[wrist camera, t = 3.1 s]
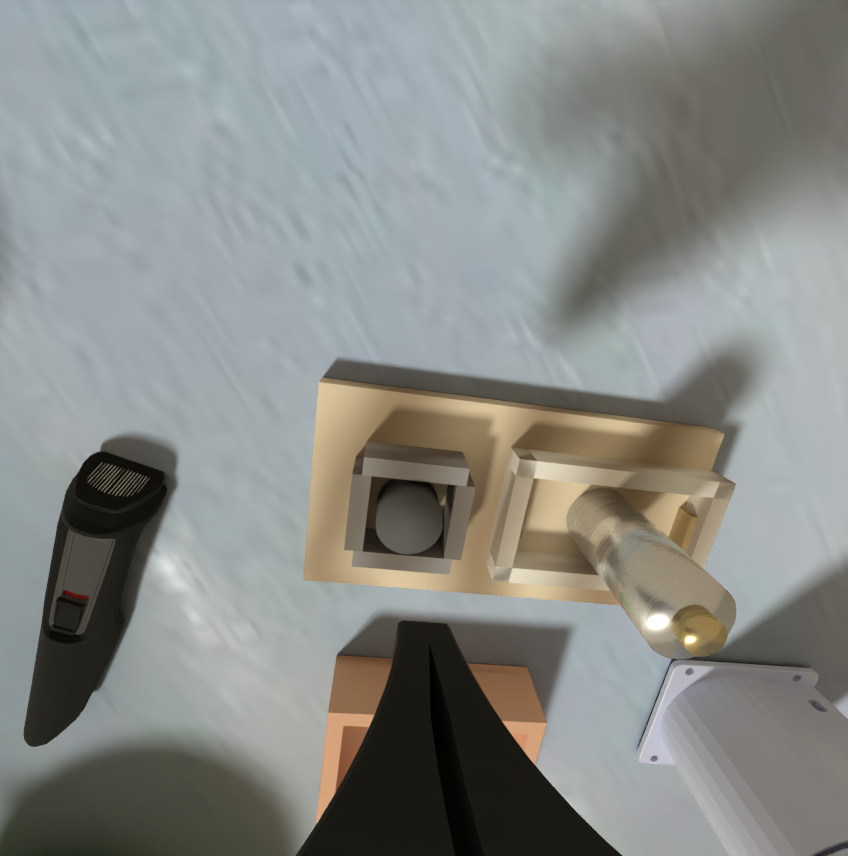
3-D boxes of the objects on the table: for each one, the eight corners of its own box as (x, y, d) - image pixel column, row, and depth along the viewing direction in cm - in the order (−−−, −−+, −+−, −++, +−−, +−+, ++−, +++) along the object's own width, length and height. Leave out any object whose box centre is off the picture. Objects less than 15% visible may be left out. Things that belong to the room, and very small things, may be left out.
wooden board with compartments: (712, 427, 22) (759, 448, 19) (652, 596, 25) (686, 636, 22) (322, 377, 20) (310, 392, 17) (307, 567, 23) (295, 607, 20)
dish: (527, 666, 26) (547, 723, 23) (491, 799, 29) (504, 865, 26) (336, 655, 25) (328, 712, 21) (321, 794, 28) (311, 863, 25)
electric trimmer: (34, 685, 25) (-16, 741, 22) (95, 444, 21) (44, 472, 18) (105, 702, 25) (66, 759, 22) (178, 473, 21) (143, 505, 18)
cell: (637, 491, 22) (769, 601, 14) (619, 548, 23) (734, 680, 15) (574, 484, 21) (676, 594, 14) (559, 542, 22) (645, 675, 15)
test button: (442, 478, 20) (447, 498, 18) (433, 532, 21) (437, 556, 19) (381, 471, 20) (379, 491, 18) (373, 526, 21) (372, 550, 19)
